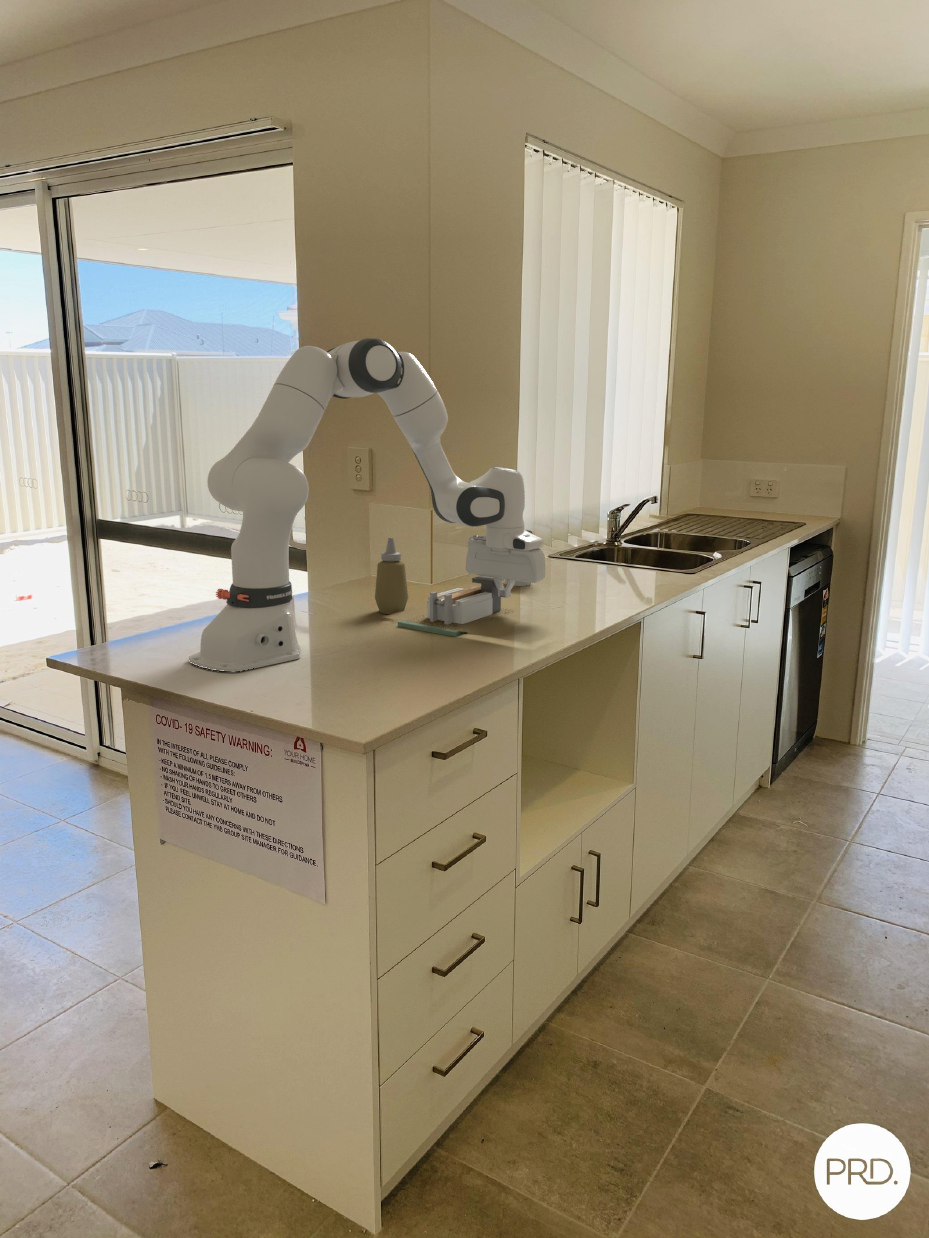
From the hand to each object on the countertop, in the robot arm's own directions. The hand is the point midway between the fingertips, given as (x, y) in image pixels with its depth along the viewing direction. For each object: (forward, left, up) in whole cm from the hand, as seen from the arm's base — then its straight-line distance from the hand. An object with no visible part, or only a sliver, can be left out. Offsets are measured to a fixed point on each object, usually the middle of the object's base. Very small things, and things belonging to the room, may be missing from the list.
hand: (504, 596), depth 220 cm
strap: (-8, +7, 0) cm, 10 cm away
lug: (0, +5, -4) cm, 6 cm away
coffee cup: (+37, +19, -5) cm, 42 cm away
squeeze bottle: (-11, +25, -5) cm, 28 cm away
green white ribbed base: (-9, +7, -5) cm, 13 cm away
